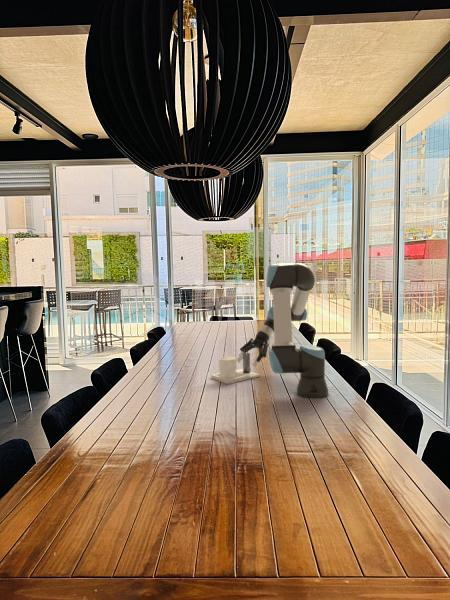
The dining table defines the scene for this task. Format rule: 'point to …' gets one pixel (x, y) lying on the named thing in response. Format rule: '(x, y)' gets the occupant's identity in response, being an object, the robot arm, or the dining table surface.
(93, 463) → the dining table surface
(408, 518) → the dining table surface
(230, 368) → the candle holder
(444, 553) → the dining table surface
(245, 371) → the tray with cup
